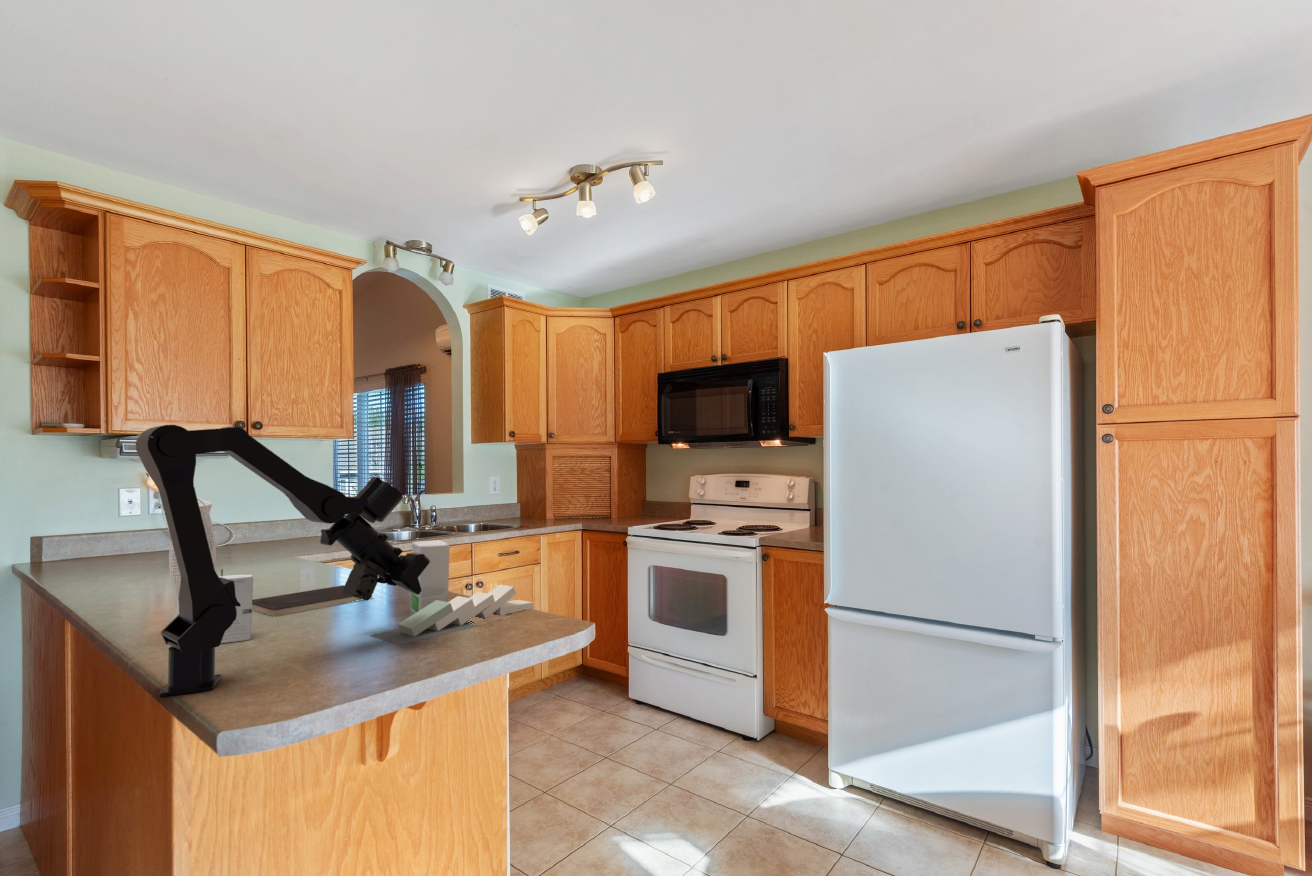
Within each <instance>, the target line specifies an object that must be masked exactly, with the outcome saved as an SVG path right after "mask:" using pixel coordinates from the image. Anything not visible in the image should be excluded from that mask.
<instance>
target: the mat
mask: <svg viewBox="0 0 1312 876" xmlns="http://www.w3.org/2000/svg"><path fill="white" fill-rule="evenodd" d="M468 621H469V620H468ZM468 621H467V622H468ZM467 622H465V623H464V624H463V625H457V624H453V623H449V624H448V625H446V626H445V627H443V628H442V629H440V630H439V631H436V630H433V629H429V628H427V629H425V630H424V631H422V632H421V633H419V634H418V635H416V636H415V637H414V636H411V635H408V634H404V633H401V632H400V629H399V628H396V629H393V630H388V631H383V632H382V631H381V632H379V633H373V634H369V637H372V638H375V639H379V640H381V641H385V642H387V643H391V644H393V645H398V646H401V645H406V644H410V643H414V642H417V641H418V642H419V641H422V640H427V639H431V638H434V637H439V636H442V635H447V634H451V633H456V632H460V631H463V630H464V631H465V630H467V629H471V628H476V627H480V626H481V625H473V624H472V623H474V622H472V621H470V622H472V623H470V622H468V623H467ZM469 623H470V624H469ZM471 624H472V625H471ZM474 624H475V623H474Z"/></svg>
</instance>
